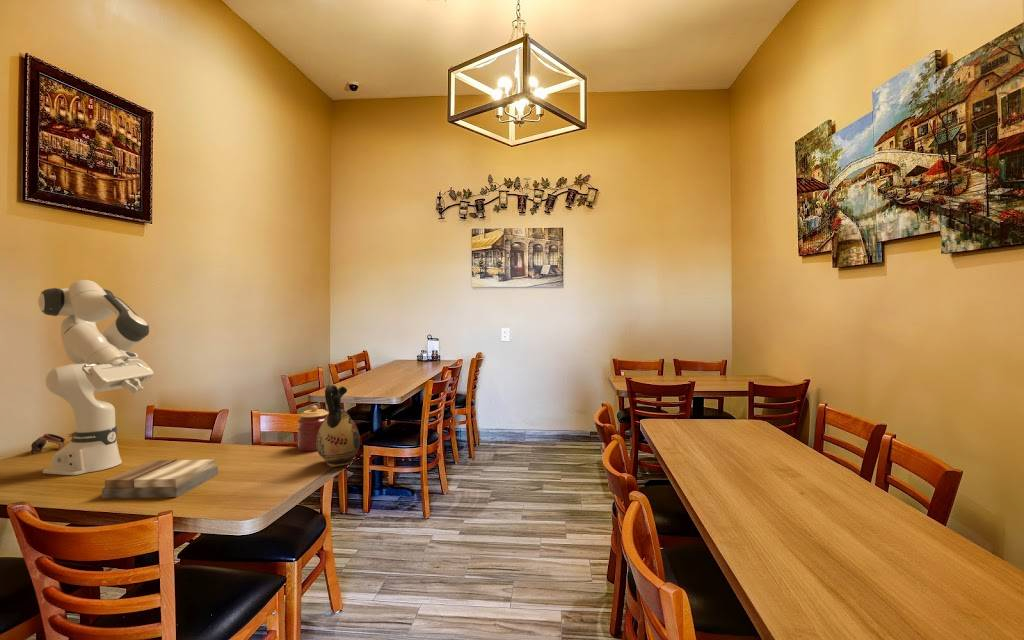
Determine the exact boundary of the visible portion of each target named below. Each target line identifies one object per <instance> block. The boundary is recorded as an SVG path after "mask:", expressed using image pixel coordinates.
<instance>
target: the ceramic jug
mask: <svg viewBox="0 0 1024 640" xmlns="http://www.w3.org/2000/svg"><path fill="white" fill-rule="evenodd" d="M347 392H348V390H347V388H346V386H340V387H339V388H338V387H337V385H336V384H335V385H334V384H329V385H327V386H326V387H325V389H324V399H325V403H326V405H327V409H328V412H329V413H328V415H327V416H326V418H325V420H324V421H323V423H322V425H321V427H320V429H319V432H318V435H317V441H316V446H317V453H318V455H319V456H320V457H321V458H322V459H323V460H324V461H325V463H326V465H327V466H328V467H331V468H335V467H340V466H341V467H342V466H346V465H350V464H352V463H354V457H356V455H357V453H358V451H359V449H360V446H361V436H360V432H359V429H358V426H357V425H356V423H355V422H354V420H353V419H352V417H351V416H350V415H349V413H348V412H347V411H346V410H344V408H343V406H342V405H341V400H342V397H343V396H344V395H345V394H346V393H347Z"/></svg>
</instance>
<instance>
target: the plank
mask: <svg viewBox="0 0 1024 640" xmlns="http://www.w3.org/2000/svg"><path fill="white" fill-rule="evenodd" d="M215 466H216V459H214V458H213V459H211V458H210V459H177V461H175V462H173V463H170V464H168V465H166V466H164V467H161V468H159V469H157V470H155V471H152V472H150V473H148V474H146V475H143V476H141V477H139V478H137V479H134V488H149V487H177V486H179V485H181V484H183V483H185V482H187V481H189V480H190V479H192V478H194V477H196V476H198V475H200V474H202V473H204V472H206V471H208V470H210V469H211V468H213V467H215Z"/></svg>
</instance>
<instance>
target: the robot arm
mask: <svg viewBox="0 0 1024 640" xmlns="http://www.w3.org/2000/svg"><path fill="white" fill-rule="evenodd" d="M37 303H38V307H39V308H40V311H41V312H42V313H43V314H44V315H47V316H54V317H58V316H63V317H65V318H64V319H63V320H62V321H61V325H60V335H61V336H60V337H61V341H62V345H63V349H64V352H65V355H66V358H67V359H68V360H69V361H70V362H72V364H71V363H70V364H66V365H62V366H57V367H54V368H52V369H51V370H50V371H49V372H48V373H47V375H46V377H45V386H46V388H47V389H48V391H50V393H52V394H54V395H56V396H58V397H60V398H62V399H63V400H65V401H66V403H68V404H69V405H70V407H71V409H72V410H73V411H72V412H73V416H74V423H75V431H74V432H72V433H68V434H67V435H68V438H71V440H70V442H69V443H67V444H66V445H64V447H62V449H61V450H58V451H57V452H55V453H54V454H53V456H52V460H51V465H50V466H48V467H45V468H44V469H43V470H42V474H51V475H64V476H77V475H82V474H86V473H93V472H98V471H103V470H106V469H107V470H108V469H110V468H114V467H116V466H119V465H121V464H122V463H123V460H122V458H121V455H120V451H119V446H118V441H117V437H118V426H116V409H115V406H114V405H113V404H112V403H110V402H107V401H104V400H100V399H97V398H95V393H97V392H98V393H100V392H107V391H108V392H109V391H115V390H120V389H125V390H127V391H130V392H131V394H137V393H141V392H143V391H144V389H145V388H144V387H143V386H142V384H141V383H143V382H146V381H149V380H150V379H152V377H153V376H154V374H155V373H154V371H153V369H152V368H151V367H150V366H149V365H148V364H147V363H146V362H145V361H144V360H142V359H141V358H139V354H137V353H136V352H134V351H133V352H132V351H131V350H132V348H133V347H135V345H137V344H138V343H139V342H140V341H142V340H143V339H144V338H146V337H147V336H148V335H149V333H150V325H149V323H148V322H147V321H146V320H144V319H143V318H142V317H140V316H139V315H138V314H137V313H136V312H135V311H134V310H133V309H132V308H131V307H130V306H129V305H128V304H127V303H125V301H124V300H122V299H121V298H119V297H117V296H115V295H114V293H113V292H112V291H111V290H108V289H104V288H103V287H101V286H100V285H99V284H98V282H95V281H92V280H90V279H80V280H76V281H75V282H73V283H71V284H70V286H69V287H64V288H57V287H53V288H47V289H44V290H42V291H40V294H39V296H38V301H37ZM114 316H116V318H115V320H114V321H112V323H111V324H110V325H108V327H106V329H104V330H103V331H102V332H100V331H99V328H98V327H97V323H102V322H104V321H107V320H109V319H111V318H112V317H114Z"/></svg>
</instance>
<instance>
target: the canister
mask: <svg viewBox="0 0 1024 640" xmlns="http://www.w3.org/2000/svg"><path fill="white" fill-rule="evenodd" d="M328 413H329V411H327V410H325V409H323V408H318V406H317V405H312V406H311V407H310V409H307V410H304V411H302V413H300V414H299V419H297V423H298V427H297V440H298V442H297V447H298V450H299V451H301V452H316V451H317V446H316V441H317V435H318V432H319V429H320V427H321V425H322V423H323V421H324V420H325V418H326V416H327V415H328ZM317 452H318V451H317Z"/></svg>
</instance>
